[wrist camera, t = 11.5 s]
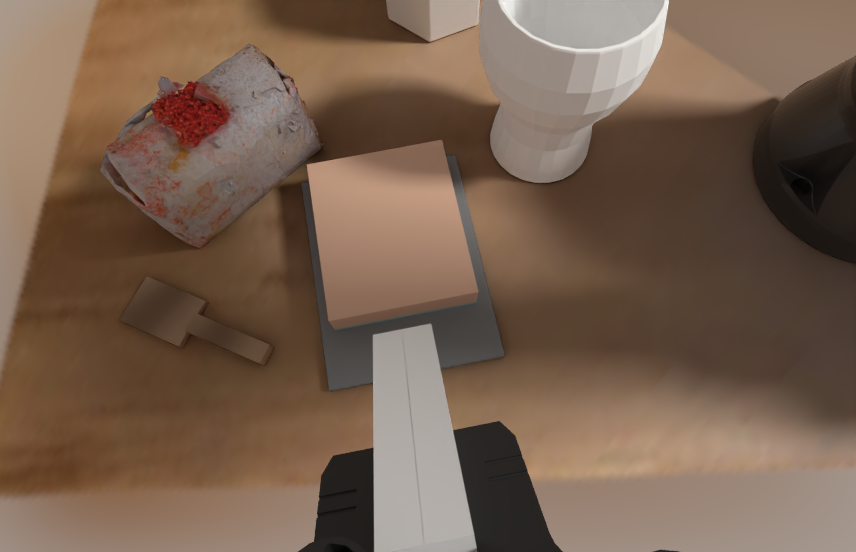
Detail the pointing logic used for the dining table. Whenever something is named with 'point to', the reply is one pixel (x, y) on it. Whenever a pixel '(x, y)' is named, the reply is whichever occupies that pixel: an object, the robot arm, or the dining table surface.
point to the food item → (212, 146)
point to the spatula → (186, 321)
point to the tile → (390, 235)
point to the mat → (452, 328)
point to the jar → (434, 16)
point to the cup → (562, 74)
